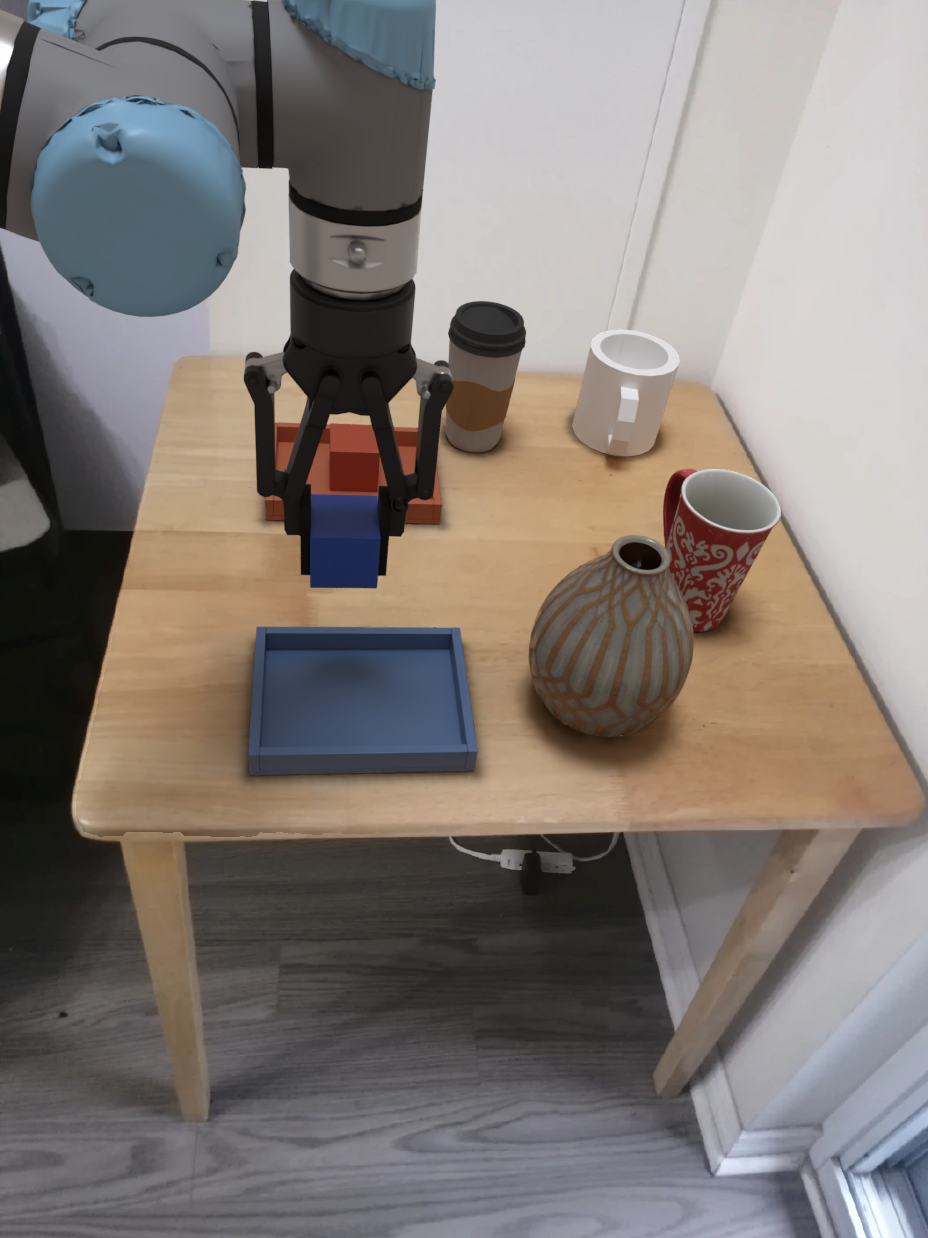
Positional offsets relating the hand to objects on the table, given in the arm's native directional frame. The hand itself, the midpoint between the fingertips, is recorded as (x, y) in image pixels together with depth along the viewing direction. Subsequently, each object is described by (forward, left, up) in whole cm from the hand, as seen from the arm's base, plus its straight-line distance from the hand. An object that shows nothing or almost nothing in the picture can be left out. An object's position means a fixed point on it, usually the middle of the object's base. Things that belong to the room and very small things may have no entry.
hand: (343, 563), depth 72 cm
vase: (+16, +15, -13) cm, 26 cm away
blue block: (0, 0, 0) cm, 0 cm away
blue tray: (+4, -1, -13) cm, 13 cm away
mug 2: (+13, +33, -13) cm, 38 cm away
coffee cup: (-19, +35, -13) cm, 42 cm away
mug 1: (-9, +49, -13) cm, 52 cm away
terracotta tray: (-20, +18, -13) cm, 30 cm away
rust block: (-20, +18, -12) cm, 30 cm away
